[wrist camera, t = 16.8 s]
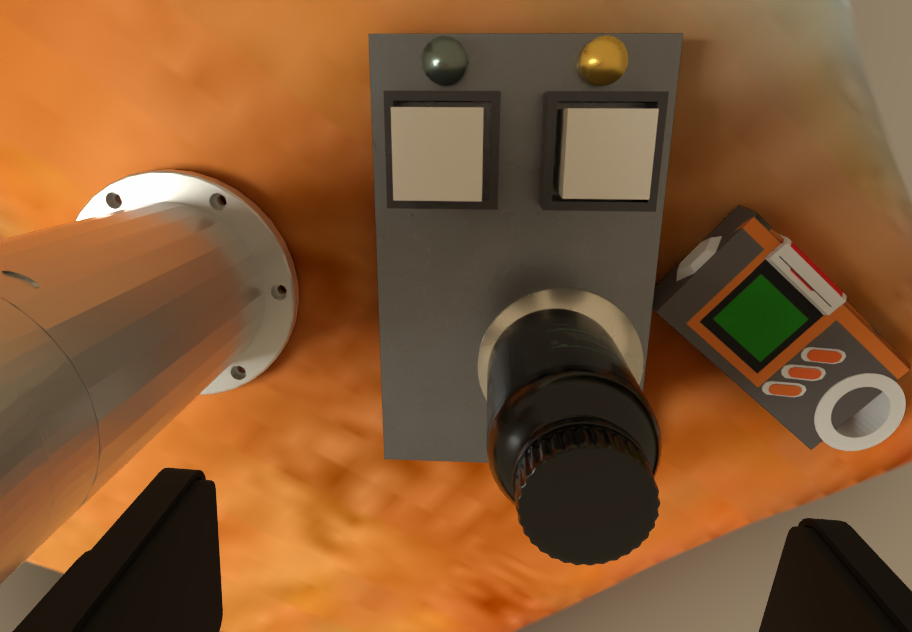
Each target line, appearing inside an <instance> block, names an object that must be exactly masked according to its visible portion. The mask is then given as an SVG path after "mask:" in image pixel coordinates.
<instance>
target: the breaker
mask: <svg viewBox="0 0 912 632" xmlns="http://www.w3.org/2000/svg"><path fill="white" fill-rule="evenodd" d="M391 137H392V173H393V200H397V201H480V202H482V192H483V140H484V108H483V107H391Z"/></svg>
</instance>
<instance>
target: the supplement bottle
mask: <svg viewBox="0 0 912 632" xmlns="http://www.w3.org/2000/svg"><path fill="white" fill-rule="evenodd" d="M661 448H662V444H661V434H660V429H659V425H658V422H657V419H656V417H655V415H654V412H653V410H652V408H651V406H650V404H649V403H648V401H647V399H646V397H645V395H644V394H643V392H642V390H641V388H640V386H639V385H638V383H637V381H636V379H635V377H634V376H633V374H632V372H631V370H630V369H629V367H628V365H627V363H626V361H625V360H624V358H623V356H622V354H621V352H620V351H619V349H618V347H617V345H616V344H615V342H614V340H613V339H612V337H611V336H610V335H609V333H608V332H607V331H606V330H605V329H604V328H603V327H602V326H601V325H600V324H599V323H598V322H596V321H595V320H593V319H592V318H590V317H588V316H586V315H584V314H582V313H579V312H576V311H572V310H567V309H558V308H554V309H543V310H539V311H535V312H532V313H529V314H527V315H525V316H523V317H521V318H519V319H517V320H516V321H514V322H513V323H512V324H511V325H509V326H508V327H507V328H506V329H505V330H504V331H503V332H502V334H501V335H500V336H499V338H498V339H497V341H496V342H495V344H494V346H493V348H492V351H491V354H490V357H489V362H488V371H487V456H488V462H489V466H490V470H491V472H492V475H493V477H494V479H495V481H496V483H497V485H498V487H499V488H500V490H501V491H502V492H503V493H504V495H505V496H506V497H507V498H508V499H509V500H510V501H511V502H512V503H513V504H514V505H515V506H516V510H517V512H518V521H519V523H520V524H521V525H522V527H523V532H524V534H525V535H526V536H528V537H529V538H530V541H531V543H532V544H534V545H536V546H537V547H538V548H539V550H540V551H541V552H544V553H547V554H548V555H549V556H550V557H551V558H555V559H559V560H561V561H562V562H564V563H573V564H575V565H581V564H586V565H594V564H596V563H598V564H604V563H606V562H608V561H611V560H617V559H619V558H620V557H621V556H624V555H628V554H629V553H630V552H631V551H632V550H633V549H635V548H638V547H639V546H640V545H641V543H642V541H644V540H645V539H647V538H648V536H649V532H650V531H651V530H652V529H653V528H654V527H655V520H656V519H657V517H658V516H659V515H658V508H659V505H660V500H659V498H658V493H659V490H658V487H657V485H656V482H655V480H654V477H655V475H656V472H657V470H658V466H659V463H660V458H661Z"/></svg>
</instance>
